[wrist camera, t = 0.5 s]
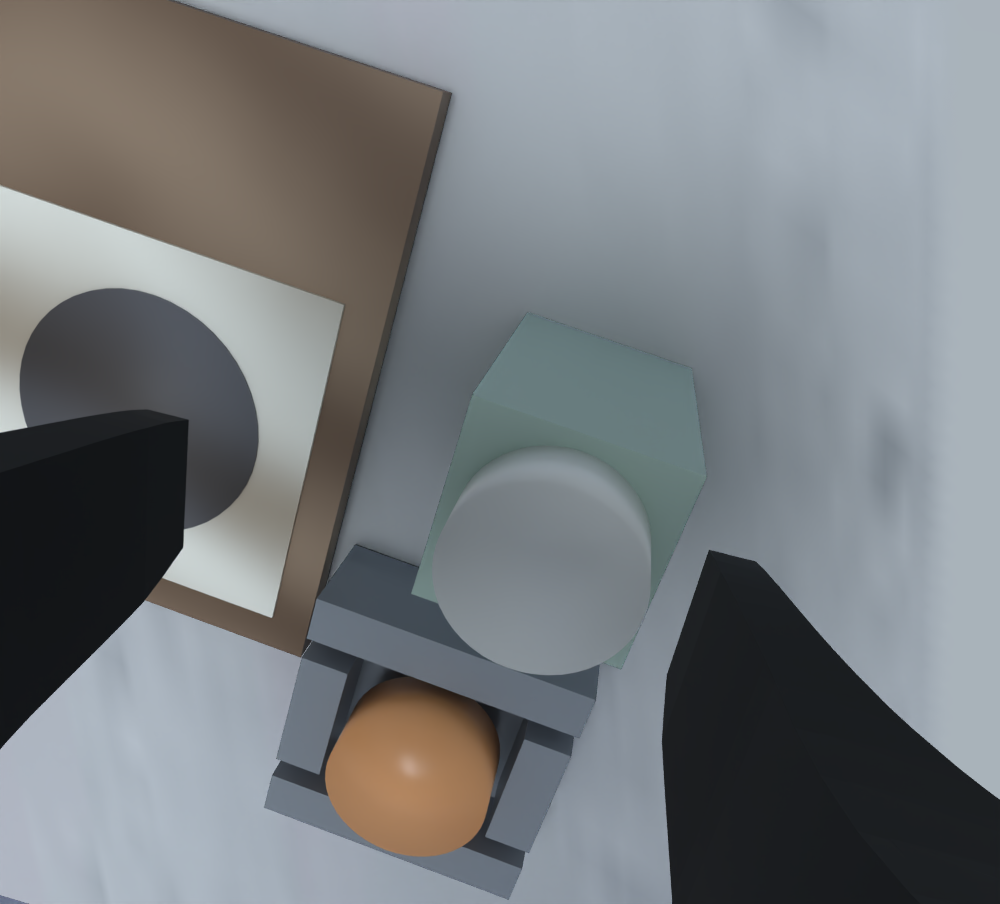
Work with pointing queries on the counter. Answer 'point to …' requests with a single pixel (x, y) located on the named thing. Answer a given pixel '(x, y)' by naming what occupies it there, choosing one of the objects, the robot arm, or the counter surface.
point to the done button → (414, 768)
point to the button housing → (444, 663)
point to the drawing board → (209, 269)
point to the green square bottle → (563, 500)
